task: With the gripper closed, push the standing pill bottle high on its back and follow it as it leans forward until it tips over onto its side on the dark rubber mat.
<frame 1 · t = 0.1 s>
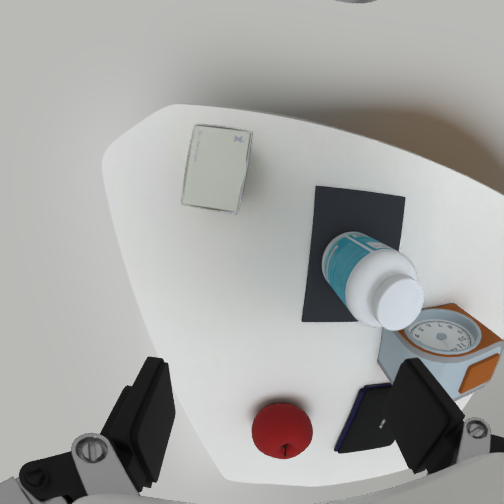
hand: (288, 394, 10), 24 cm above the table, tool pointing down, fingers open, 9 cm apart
cosmetic box: (228, 171, 31), on the table
laptop: (377, 416, 41), on the table
pill bottle: (348, 259, 33), resting on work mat
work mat: (355, 259, 33), on the table
alarm clock: (420, 330, 36), on the table
apple: (279, 411, 40), on the table
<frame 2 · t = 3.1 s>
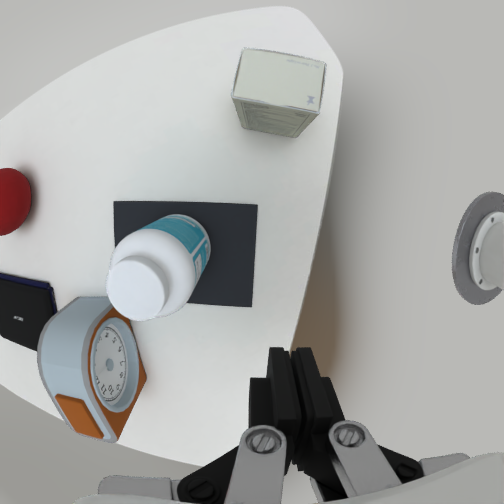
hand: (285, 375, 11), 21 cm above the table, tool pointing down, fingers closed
cosmetic box: (271, 116, 28), on the table
laptop: (24, 311, 35), on the table
pill bottle: (180, 245, 31), resting on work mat
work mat: (180, 253, 32), on the table
alarm clock: (113, 343, 35), on the table
apple: (23, 198, 30), on the table
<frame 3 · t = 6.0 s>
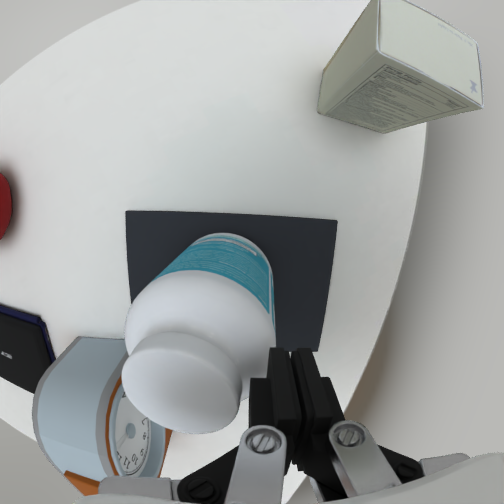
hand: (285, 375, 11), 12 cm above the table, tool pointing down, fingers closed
cosmetic box: (353, 101, 19), on the table
laptop: (13, 345, 25), on the table
pill bottle: (226, 276, 22), resting on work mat, touching gripper
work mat: (226, 286, 23), on the table
alarm clock: (129, 392, 26), on the table
apple: (2, 204, 21), on the table
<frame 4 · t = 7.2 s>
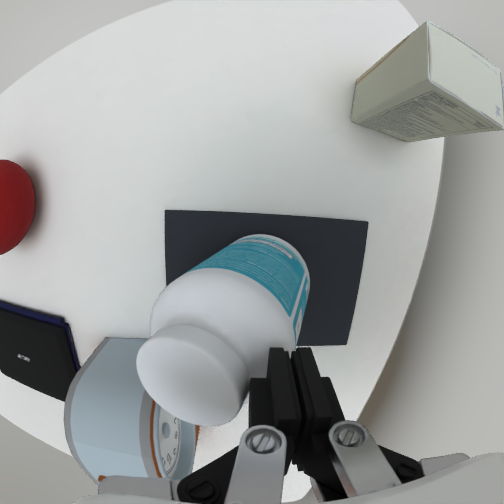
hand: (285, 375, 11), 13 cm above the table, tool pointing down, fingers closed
cosmetic box: (381, 112, 20), on the table
laptop: (30, 348, 26), on the table
pill bottle: (265, 278, 22), point 1 cm above the table, touching gripper, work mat
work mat: (264, 284, 24), on the table
alarm clock: (157, 391, 27), on the table
apple: (23, 202, 22), on the table
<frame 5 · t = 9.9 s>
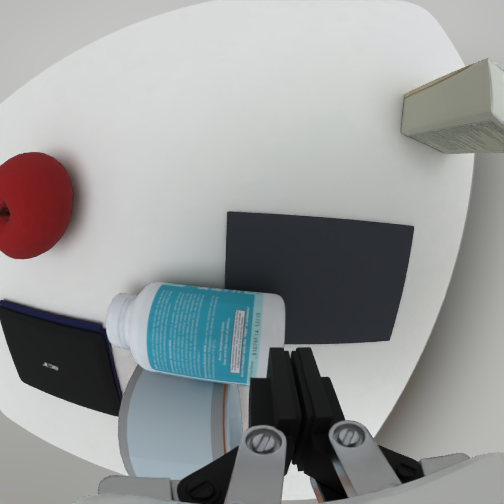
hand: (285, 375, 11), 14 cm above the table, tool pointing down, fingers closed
cosmetic box: (425, 125, 21), on the table
laptop: (57, 355, 27), on the table
pill bottle: (283, 342, 21), point 4 cm above the table, touching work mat
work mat: (322, 285, 24), on the table
alarm clock: (201, 395, 28), on the table
apple: (55, 199, 22), on the table
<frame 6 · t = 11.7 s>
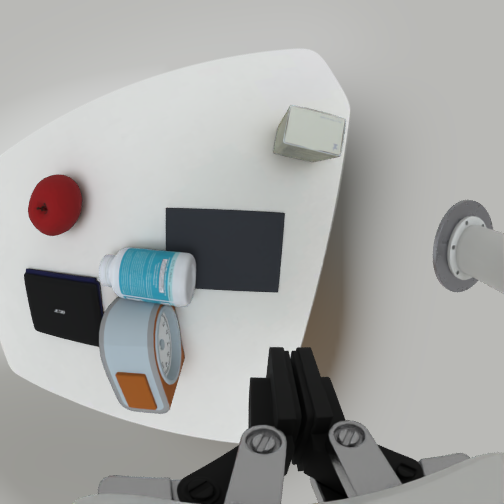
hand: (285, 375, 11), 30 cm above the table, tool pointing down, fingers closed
cosmetic box: (295, 144, 37), on the table
laptop: (65, 305, 43), on the table
pill bottle: (193, 281, 37), point 4 cm above the table, touching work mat
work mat: (223, 250, 41), on the table
alarm clock: (156, 328, 44), on the table
apple: (70, 201, 38), on the table
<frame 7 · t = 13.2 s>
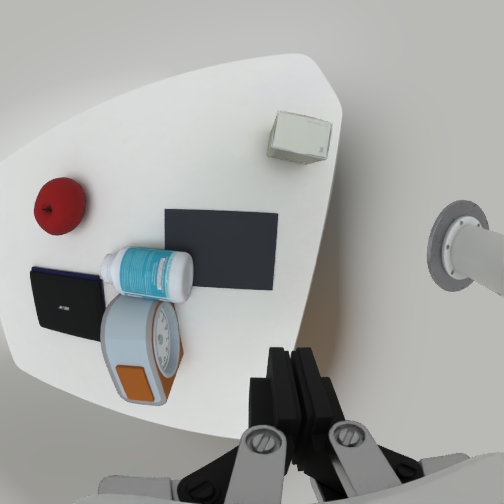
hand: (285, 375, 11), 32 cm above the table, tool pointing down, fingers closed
cosmetic box: (288, 147, 39), on the table
laptop: (69, 302, 45), on the table
pill bottle: (190, 278, 39), point 4 cm above the table, touching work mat
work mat: (219, 250, 42), on the table
alarm clock: (156, 324, 46), on the table
apple: (74, 203, 40), on the table
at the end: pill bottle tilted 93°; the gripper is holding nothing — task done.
